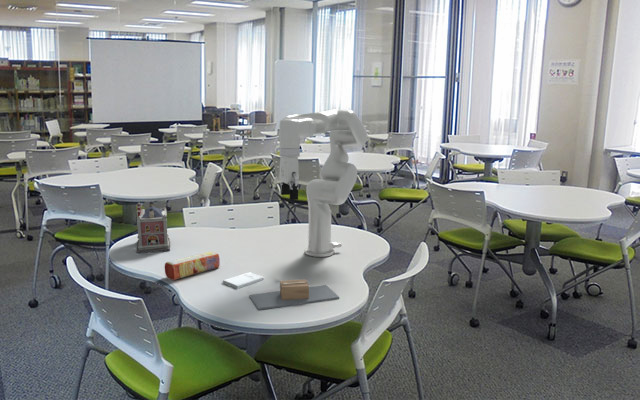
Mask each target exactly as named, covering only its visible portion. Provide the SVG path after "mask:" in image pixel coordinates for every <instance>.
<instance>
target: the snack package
mask: <svg viewBox="0 0 640 400" xmlns="http://www.w3.org/2000/svg"><path fill="white" fill-rule="evenodd" d="M220 260H221V259H220V255H219V253H218V252H215V251H206V252H203V253H199V254H195V255H190V256H188V257H187V256H186V257H183V258H178V259H175V260H169V261H166V262H164V274H165V276H166V277H167V278H168V279H169V280H172V281H176V280H179V279H182V278H186V277H190V276H193V275H195V274H199V273H203V272H207V271H210V270H215V269H218V268H219V267H220V265H221V263H220Z"/></svg>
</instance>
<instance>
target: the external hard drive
mask: <svg viewBox="0 0 640 400" xmlns="http://www.w3.org/2000/svg"><path fill="white" fill-rule="evenodd" d="M264 279H265V278H264V276H262V275H258V274H256V273H254V272H250V271H249V272H245V273H242V274H239V275H236V276H232V277H229V278H226V279H223V280H222V284H225V285H227V286H230V287H232V288H234V289H237V290H238V289H242V288H244V287H247V286H250V285H252V284H255V283H256V284H257V283H258V282H261V281H264Z"/></svg>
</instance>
